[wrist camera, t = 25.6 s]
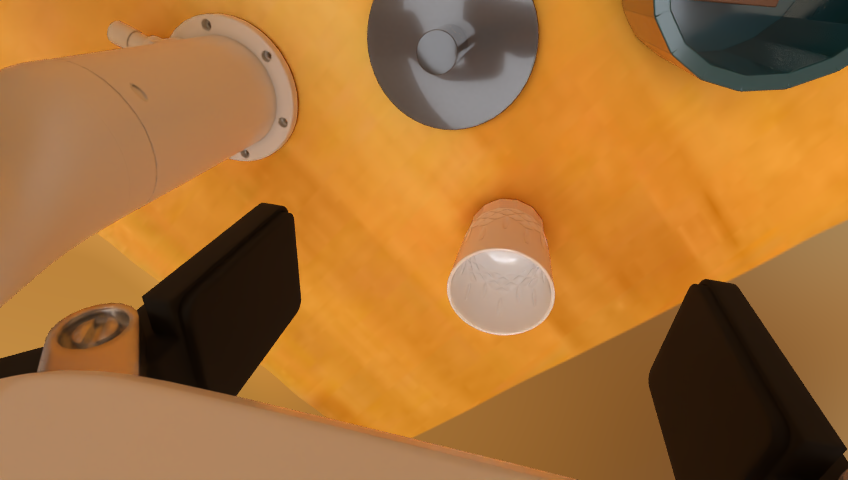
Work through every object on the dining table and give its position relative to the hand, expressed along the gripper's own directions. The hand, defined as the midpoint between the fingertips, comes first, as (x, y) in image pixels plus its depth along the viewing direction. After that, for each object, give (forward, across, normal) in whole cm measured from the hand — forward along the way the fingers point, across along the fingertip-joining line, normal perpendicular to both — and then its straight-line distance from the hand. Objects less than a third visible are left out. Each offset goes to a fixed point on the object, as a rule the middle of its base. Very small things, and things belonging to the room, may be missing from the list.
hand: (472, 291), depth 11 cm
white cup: (+28, -2, +13) cm, 31 cm away
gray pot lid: (+28, +5, -2) cm, 28 cm away
